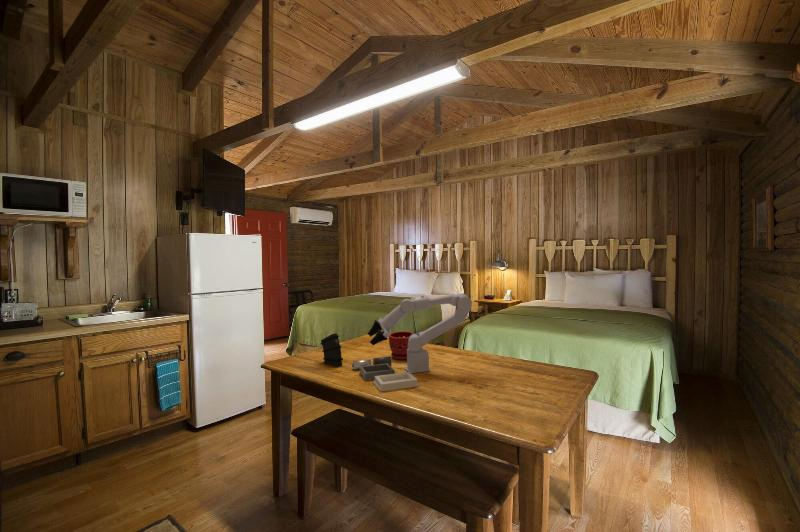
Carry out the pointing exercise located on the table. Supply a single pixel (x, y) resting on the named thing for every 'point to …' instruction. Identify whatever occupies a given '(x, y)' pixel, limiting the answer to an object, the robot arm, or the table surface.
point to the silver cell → (360, 364)
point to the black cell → (381, 360)
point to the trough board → (395, 381)
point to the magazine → (332, 350)
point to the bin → (375, 371)
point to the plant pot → (399, 344)
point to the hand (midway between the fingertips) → (370, 339)
